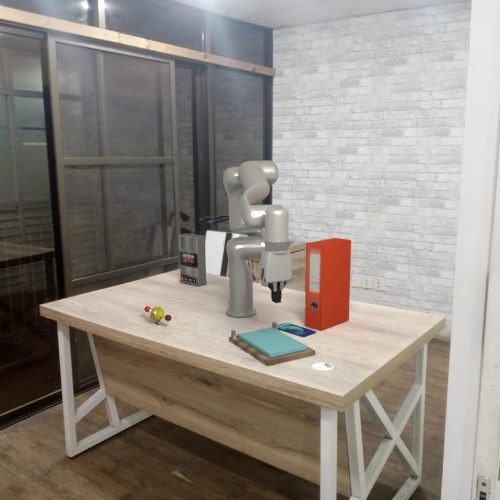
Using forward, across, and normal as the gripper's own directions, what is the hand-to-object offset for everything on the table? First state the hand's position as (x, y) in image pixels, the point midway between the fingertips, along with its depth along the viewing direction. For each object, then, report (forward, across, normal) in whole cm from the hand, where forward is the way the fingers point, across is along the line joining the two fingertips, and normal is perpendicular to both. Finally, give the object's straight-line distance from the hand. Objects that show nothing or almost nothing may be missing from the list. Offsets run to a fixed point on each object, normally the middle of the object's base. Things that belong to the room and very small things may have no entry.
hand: (276, 301), depth 169 cm
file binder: (+17, -32, -14) cm, 39 cm away
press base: (+17, 0, -3) cm, 17 cm away
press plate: (+15, 0, -4) cm, 16 cm away
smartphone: (+18, -17, -14) cm, 28 cm away
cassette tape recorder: (+19, -13, -102) cm, 105 cm away
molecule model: (+18, +25, -48) cm, 57 cm away
